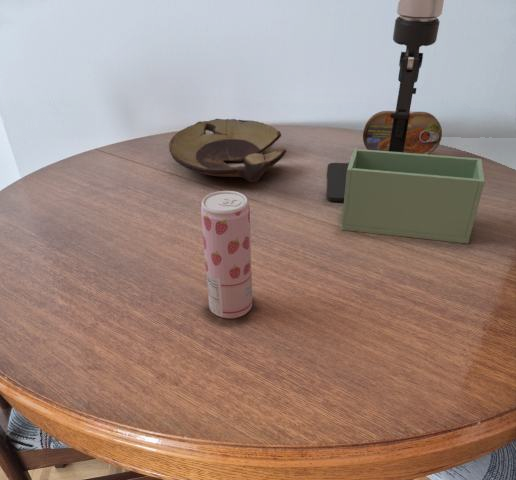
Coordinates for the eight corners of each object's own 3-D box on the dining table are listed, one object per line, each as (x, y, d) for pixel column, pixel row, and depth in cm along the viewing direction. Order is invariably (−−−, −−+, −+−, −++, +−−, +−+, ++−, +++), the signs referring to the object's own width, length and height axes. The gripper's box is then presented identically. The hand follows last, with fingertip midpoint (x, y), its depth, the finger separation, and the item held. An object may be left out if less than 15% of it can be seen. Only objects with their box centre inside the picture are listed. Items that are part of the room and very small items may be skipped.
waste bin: (466, 218, 89) (481, 158, 82) (468, 243, 83) (485, 181, 76) (348, 206, 93) (353, 148, 86) (341, 230, 87) (347, 169, 80)
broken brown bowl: (280, 141, 116) (281, 103, 111) (293, 204, 94) (294, 161, 89) (176, 144, 116) (172, 106, 111) (163, 208, 93) (157, 165, 88)
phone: (326, 197, 94) (327, 162, 105) (326, 201, 94) (327, 166, 105) (370, 198, 93) (366, 163, 104) (369, 203, 94) (365, 167, 105)
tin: (360, 155, 110) (365, 112, 104) (361, 150, 112) (365, 107, 107) (437, 159, 108) (446, 115, 102) (436, 153, 110) (444, 110, 105)
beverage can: (256, 316, 70) (254, 208, 60) (212, 322, 69) (203, 214, 59) (247, 291, 74) (244, 187, 64) (206, 297, 73) (196, 192, 63)
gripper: (400, 3, 104) (383, 117, 118) (390, 31, 86) (373, 162, 99) (440, 5, 102) (419, 120, 116) (440, 33, 84) (414, 166, 98)
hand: (397, 140), depth 108 cm, fingers open, 13 cm apart
